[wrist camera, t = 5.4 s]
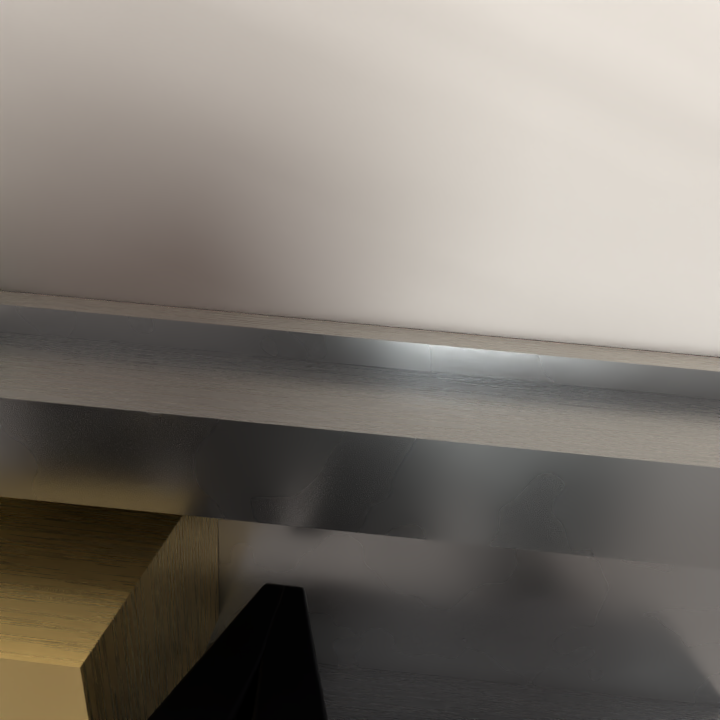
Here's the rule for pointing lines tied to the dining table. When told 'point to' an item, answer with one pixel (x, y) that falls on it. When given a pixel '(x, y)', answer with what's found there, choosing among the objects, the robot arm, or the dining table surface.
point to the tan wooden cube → (100, 608)
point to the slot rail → (403, 495)
